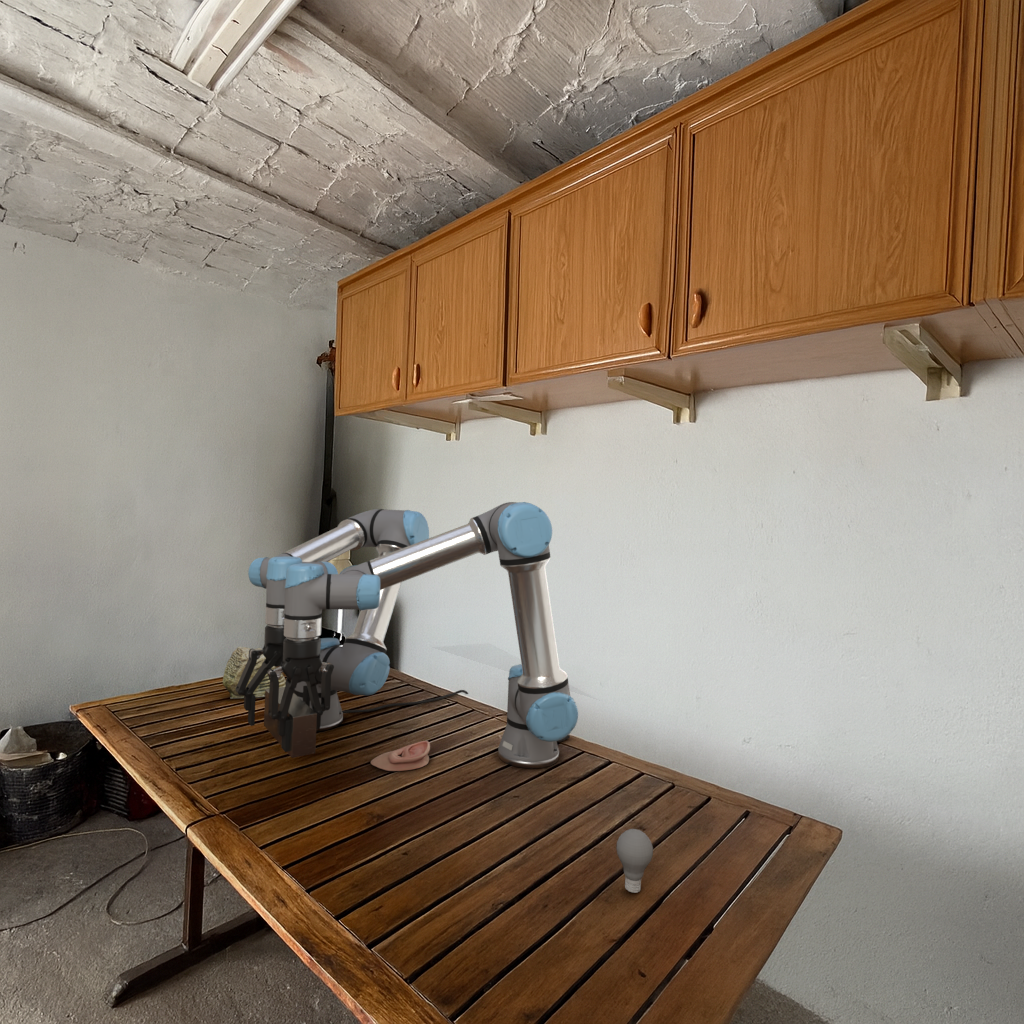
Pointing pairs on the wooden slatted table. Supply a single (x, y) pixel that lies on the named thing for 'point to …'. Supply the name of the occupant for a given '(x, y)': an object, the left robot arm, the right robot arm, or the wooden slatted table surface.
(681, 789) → the wooden slatted table surface
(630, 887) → the light bulb
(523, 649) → the right robot arm
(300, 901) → the wooden slatted table surface
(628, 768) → the wooden slatted table surface
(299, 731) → the bar
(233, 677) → the fossil
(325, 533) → the left robot arm
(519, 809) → the wooden slatted table surface
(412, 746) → the anatomical model
